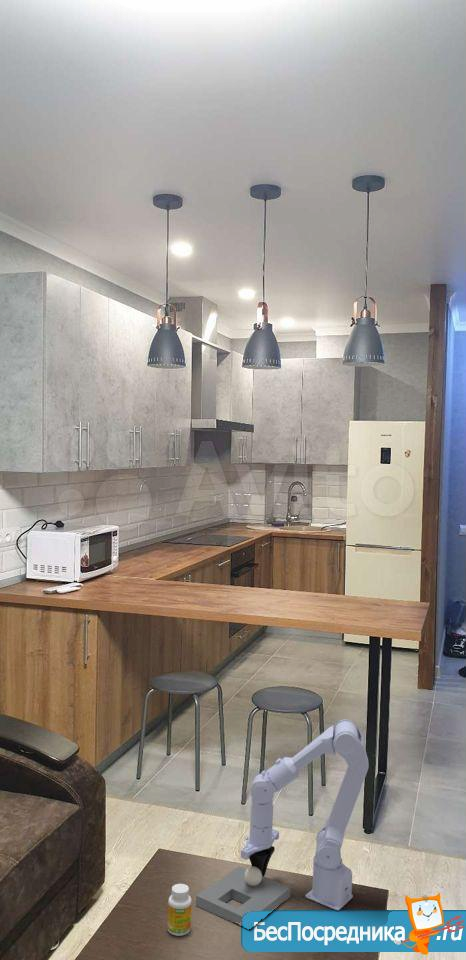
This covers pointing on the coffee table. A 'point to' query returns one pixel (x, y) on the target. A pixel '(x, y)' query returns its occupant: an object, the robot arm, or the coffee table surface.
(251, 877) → the ball
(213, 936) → the coffee table surface
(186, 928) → the supplement bottle
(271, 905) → the plate
